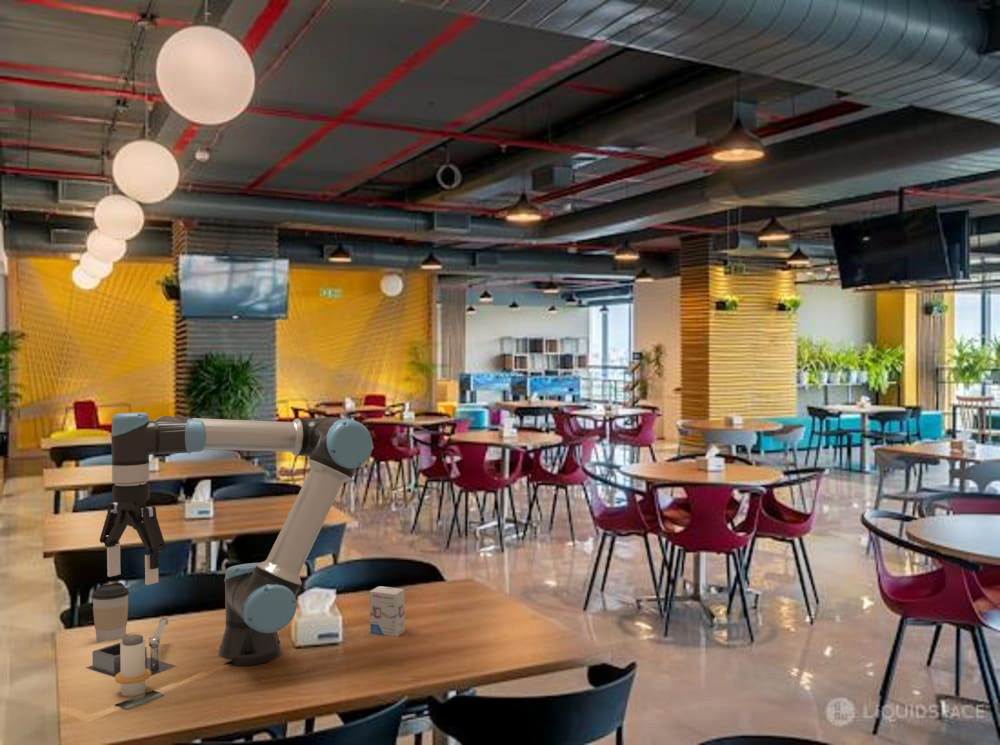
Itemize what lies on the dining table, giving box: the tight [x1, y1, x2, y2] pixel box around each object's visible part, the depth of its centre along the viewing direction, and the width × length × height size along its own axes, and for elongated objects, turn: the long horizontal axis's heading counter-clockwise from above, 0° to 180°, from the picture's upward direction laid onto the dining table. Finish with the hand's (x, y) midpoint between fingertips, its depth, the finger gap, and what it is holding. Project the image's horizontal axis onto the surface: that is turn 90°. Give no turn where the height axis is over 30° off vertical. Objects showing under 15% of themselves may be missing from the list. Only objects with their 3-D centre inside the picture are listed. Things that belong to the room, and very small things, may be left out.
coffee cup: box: [91, 581, 130, 644], centre depth 223 cm, size 9×9×15 cm
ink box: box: [369, 585, 406, 637], centre depth 229 cm, size 9×5×12 cm, turn 68°
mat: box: [114, 689, 165, 710], centre depth 185 cm, size 9×9×1 cm
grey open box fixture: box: [85, 641, 178, 678], centre depth 200 cm, size 18×12×7 cm, turn 58°
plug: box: [114, 634, 152, 701], centre depth 185 cm, size 7×7×13 cm
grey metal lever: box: [148, 617, 169, 647], centre depth 207 cm, size 18×2×2 cm, turn 14°
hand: (132, 579), depth 185 cm, fingers open, 13 cm apart
